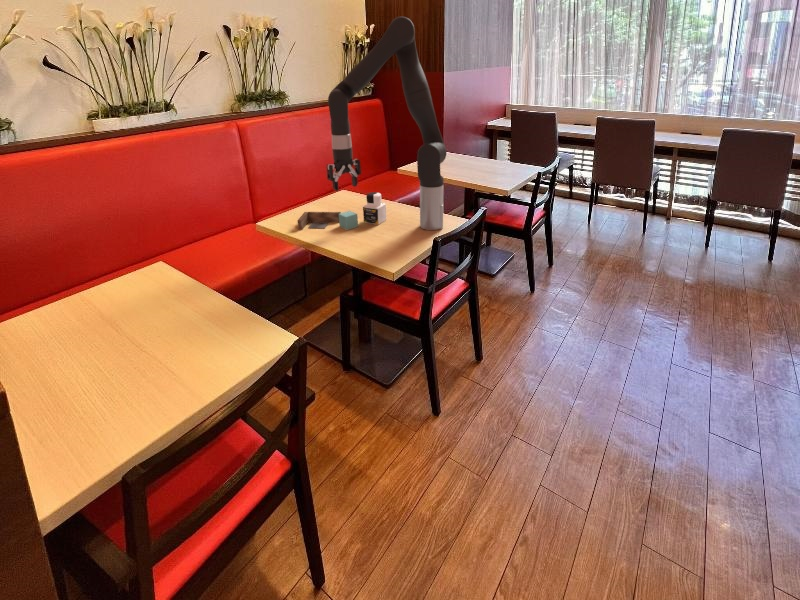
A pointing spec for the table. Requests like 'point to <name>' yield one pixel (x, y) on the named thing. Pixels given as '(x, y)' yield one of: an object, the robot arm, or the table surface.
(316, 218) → the arena
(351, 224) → the block
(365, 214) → the medicine bottle
